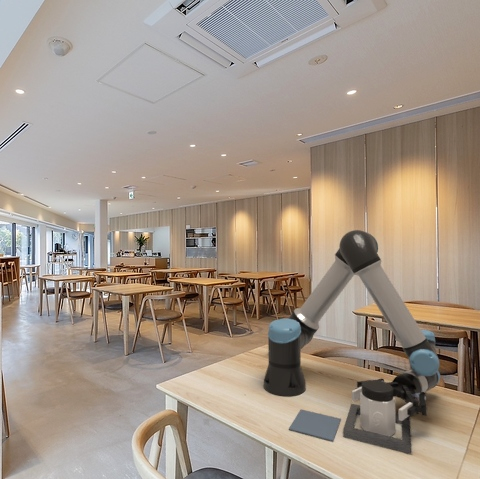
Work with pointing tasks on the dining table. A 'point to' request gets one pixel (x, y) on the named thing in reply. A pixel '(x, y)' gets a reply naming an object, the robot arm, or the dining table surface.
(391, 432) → the jar
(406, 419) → the frame
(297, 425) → the mat
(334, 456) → the dining table surface
